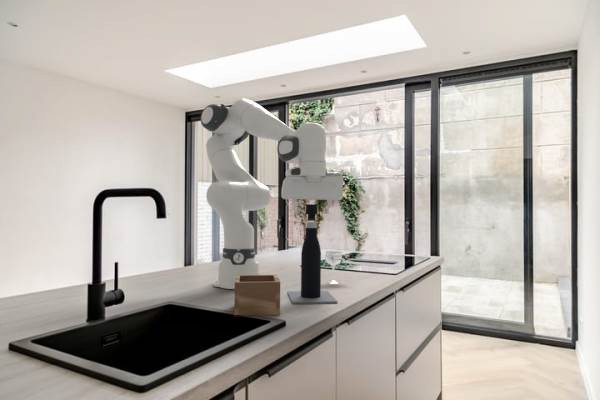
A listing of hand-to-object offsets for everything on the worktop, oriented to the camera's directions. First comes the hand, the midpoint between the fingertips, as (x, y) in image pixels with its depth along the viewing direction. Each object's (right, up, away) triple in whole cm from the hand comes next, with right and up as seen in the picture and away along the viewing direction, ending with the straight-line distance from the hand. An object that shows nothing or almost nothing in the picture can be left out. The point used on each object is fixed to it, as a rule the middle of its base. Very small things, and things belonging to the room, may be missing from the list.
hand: (311, 213), depth 135 cm
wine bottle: (0, -27, -1) cm, 27 cm away
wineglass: (+9, -28, +28) cm, 41 cm away
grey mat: (0, -28, 0) cm, 28 cm away
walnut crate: (-16, -27, -17) cm, 36 cm away
